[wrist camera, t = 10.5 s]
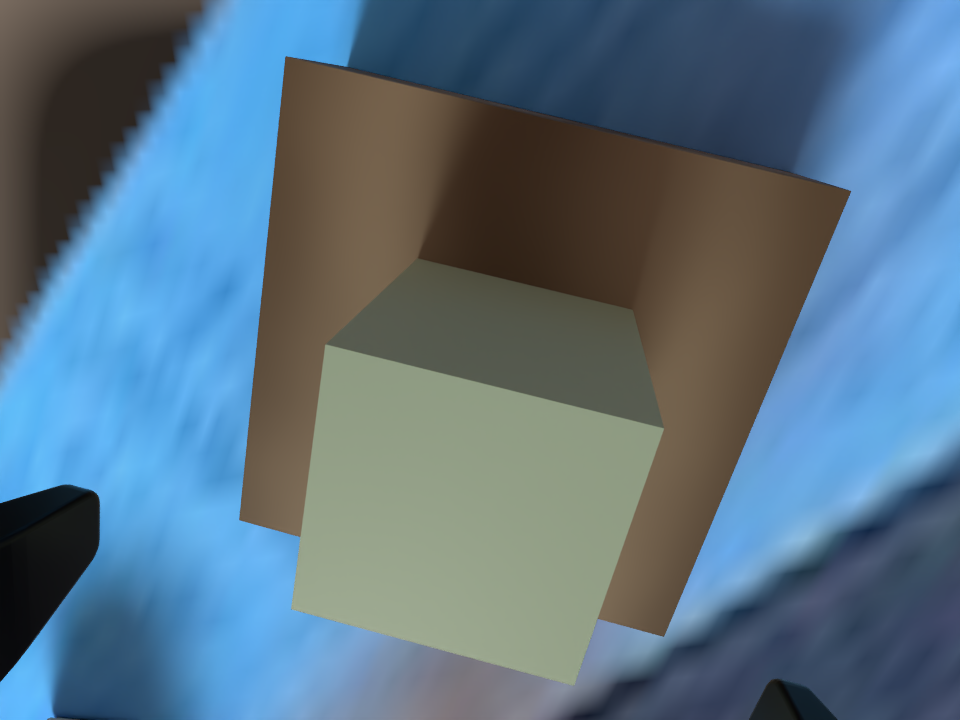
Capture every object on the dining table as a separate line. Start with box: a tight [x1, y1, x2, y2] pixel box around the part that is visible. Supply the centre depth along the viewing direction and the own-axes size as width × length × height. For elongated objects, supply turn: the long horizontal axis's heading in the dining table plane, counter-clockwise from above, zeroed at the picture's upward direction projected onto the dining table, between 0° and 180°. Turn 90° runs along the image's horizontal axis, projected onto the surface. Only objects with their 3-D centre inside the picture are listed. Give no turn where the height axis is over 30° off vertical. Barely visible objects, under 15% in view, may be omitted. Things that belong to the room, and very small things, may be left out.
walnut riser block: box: [239, 56, 851, 637], centre depth 18 cm, size 12×12×4 cm
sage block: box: [291, 258, 664, 686], centre depth 13 cm, size 5×5×6 cm
